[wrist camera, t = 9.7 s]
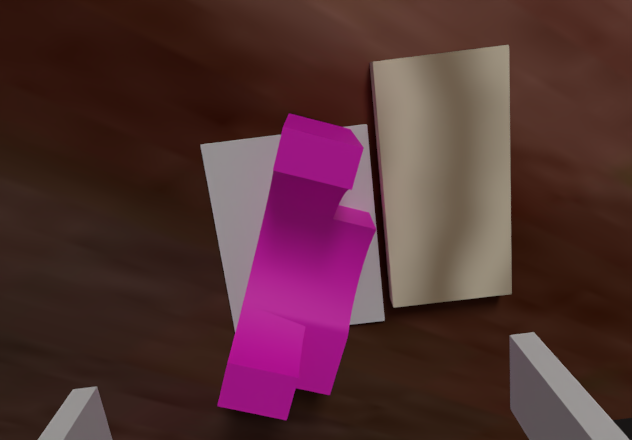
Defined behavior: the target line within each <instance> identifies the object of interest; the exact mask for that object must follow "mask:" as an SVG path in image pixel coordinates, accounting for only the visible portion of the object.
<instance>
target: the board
mask: <svg viewBox="0 0 632 440" xmlns="http://www.w3.org/2000/svg"><path fill="white" fill-rule="evenodd" d="M370 73H371V85H372V96H373V108H374V120H375V131H376V143H377V155H378V166H379V178H380V190H381V201H382V213H383V225H384V236H385V248H386V259H387V271H388V283H389V294H390V300H391V302H392V305H393V308H395V307H404V306H412V305H421V304H430V303H438V302H447V301H455V300H464V299H473V298H481V297H490V296H499V295H507V294H512V282H511V184H510V87H509V45H503V46H495V47H487V48H479V49H471V50H463V51H455V52H447V53H439V54H431V55H423V56H415V57H407V58H399V59H391V60H383V61H375V62H370Z"/></svg>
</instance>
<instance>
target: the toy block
mask: <svg viewBox="0 0 632 440" xmlns="http://www.w3.org/2000/svg"><path fill="white" fill-rule="evenodd" d="M363 149H364V147H363V146H362V145H361V143H360V142H359V140H358V139H357V138H356V136H355V135H354V133H353V132H352V131H351V129H348V128H344V127H340V126H336V125H332V124H328V123H325V122H321V121H317V120H313V119H309V118H305V117H301V116H298V115H294V114H290V113H289V115H288V117H287V119H286V121H285V124H284V126H283V129H282V133H281V138H280V142H279V146H278V150H277V155H276V159H275V163H274V167H273V175H272V181H271V186H270V190H269V195H268V200H267V204H266V209H265V213H264V217H263V222H262V226H261V230H260V235H259V239H258V243H257V247H256V251H255V256H254V260H253V264H252V268H251V272H250V276H249V280H248V284H247V289H246V293H245V297H244V301H243V305H242V309H241V313H240V317H239V321H238V324H237V328H236V332H235V336H234V340H233V344H232V348H231V352H230V355H229V359H228V363H227V367H226V371H225V376H224V380H223V384H222V388H221V393H220V397H219V401H218V405H217V406H219V407H224V408H229V409H234V410H239V411H243V412H248V413H253V414H258V415H263V416H268V417H273V418H277V419H282V420H287V417H288V414H289V410H290V407H291V403H292V400H293V396H294V393H295V389H296V388H298V389H302V390H307V391H312V392H317V393H321V394H326V395H330V393H331V389H332V386H333V383H334V379H335V376H336V373H337V370H338V366H339V363H340V360H341V357H342V353H343V350H344V347H345V344H346V340H347V337H348V331H349V325H350V319H351V313H352V308H353V303H354V298H355V294H356V290H357V286H358V282H359V278H360V274H361V271H362V267H363V264H364V261H365V258H366V255H367V252H368V249H369V246H370V244H371V241H372V239H373V236H374V234H375V232H376V227H375V225H374V223H373V220H372V218H371V216H370V213H369V212H365V211H361V210H357V209H353V208H349V207H345V206H341V205H339V203H340V201H341V199H342V197H343V196H344V194H345V193H346V191H348V190H349V189H350V190H352V188H353V184H354V181H355V177H356V173H357V170H358V166H359V163H360V159H361V156H362V152H363Z"/></svg>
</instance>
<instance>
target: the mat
mask: <svg viewBox="0 0 632 440" xmlns="http://www.w3.org/2000/svg"><path fill="white" fill-rule="evenodd" d="M344 128H348V129H351V131H352V132H353V133H354V135H355V136H356V138H357V139H358V140H359V142H360V143H361V145H362V146H363V147H364V149H363V152H362V156H361V159H360V163H359V166H358V170H357V173H356V177H355V181H354V184H353V188H352V190H350V189H349V190H348V191H346V193H345V194H344V196H343V197H342V199H341V201H340V203H339V205H341V206H345V207H349V208H353V209H357V210H361V211H365V212H369V213H370V216H371V218H372V220H373V223H374V225H375V227H376V218H375V207H374V196H373V185H372V174H371V163H370V152H369V141H368V130H367V124H363V125H355V126H347V127H344ZM280 138H281V135H274V136H266V137H258V138H249V139H241V140H233V141H225V142H217V143H209V144H201V145H200V146H201V151H202V156H203V162H204V167H205V173H206V178H207V183H208V189H209V194H210V200H211V205H212V210H213V216H214V221H215V227H216V232H217V237H218V243H219V248H220V253H221V259H222V264H223V270H224V275H225V280H226V286H227V291H228V297H229V302H230V307H231V313H232V318H233V323H234V329H235V332H236V328H237V324H238V321H239V317H240V313H241V309H242V305H243V301H244V297H245V293H246V289H247V284H248V280H249V276H250V272H251V268H252V264H253V260H254V256H255V251H256V247H257V243H258V239H259V235H260V230H261V226H262V222H263V217H264V213H265V209H266V204H267V200H268V195H269V190H270V186H271V181H272V175H273V167H274V163H275V159H276V155H277V150H278V146H279V142H280ZM378 321H385V318H384V307H383V296H382V285H381V274H380V263H379V252H378V240H377V229H376V232H375V234H374V236H373V239H372V241H371V244H370V246H369V249H368V252H367V255H366V258H365V261H364V264H363V267H362V271H361V274H360V278H359V282H358V286H357V290H356V294H355V298H354V303H353V308H352V313H351V319H350V325H352V324H361V323H370V322H378Z"/></svg>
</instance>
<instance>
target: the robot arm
mask: <svg viewBox="0 0 632 440" xmlns="http://www.w3.org/2000/svg"><path fill="white" fill-rule="evenodd" d="M510 409H511V411H512V412H513V414H514V415H515V417H516V419H517V420H518V422H519V423H520V425H521V427H522V428H523V430H524V432H525V433H526V435H527V436H528V438H529V440H632V418H628V419H620V420H612V419H611V418H610V417H609V416H608V415H607V414H606V413H605V411H604V410H603V409H602V408H601V407H600V406H599V405H598V404H597V403H596V401H595V400H594V399H593V398H592V397H591V396H590V395H589V394H588V392H587V391H586V390H585V389H584V388H583V387H582V386H581V385H580V383H579V382H578V381H577V380H576V379H575V378H574V377H573V376H572V374H571V373H570V372H569V371H568V370H567V369H566V368H565V367H564V366H563V364H562V363H561V362H560V361H559V360H558V359H557V358H556V357H555V355H554V354H553V353H552V352H551V351H550V350H549V349H548V348H547V346H546V345H545V344H544V343H543V342H542V341H541V340H540V339H539V338H538V336H537V335H536V334H535V333H534V332H532V333H524V334H516V335H510ZM38 440H112V437H111V434H110V430H109V427H108V423H107V420H106V416H105V413H104V409H103V406H102V402H101V399H100V395H99V392H98V388H97V387H89V388H81V389H73V390H72V392H71V393H70V394H69V396H68V397H67V399H66V400H65V402H64V403H63V404H62V406H61V407H60V409H59V410H58V412H57V413H56V414H55V416H54V417H53V419H52V420H51V422H50V423H49V424H48V426H47V427H46V429H45V430H44V432H43V433H42V434H41V436H40V437H39V439H38Z"/></svg>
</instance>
